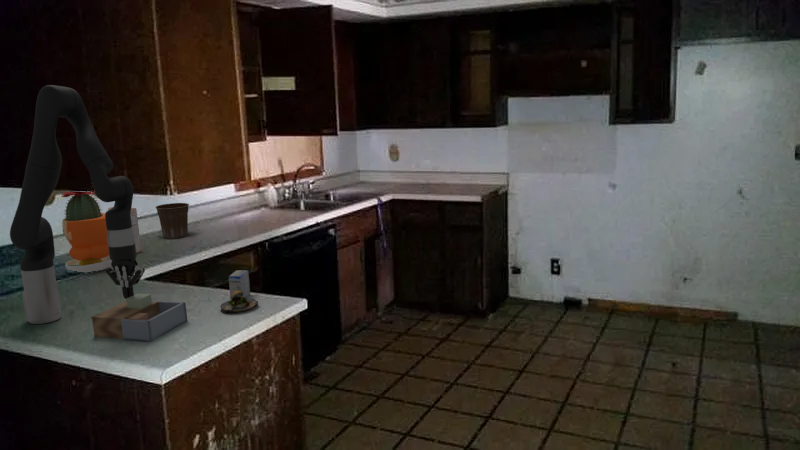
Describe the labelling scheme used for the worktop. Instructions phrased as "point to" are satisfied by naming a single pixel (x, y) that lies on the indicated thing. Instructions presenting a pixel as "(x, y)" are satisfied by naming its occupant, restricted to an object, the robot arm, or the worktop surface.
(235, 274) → the medicine box
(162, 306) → the tray
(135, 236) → the cracker box
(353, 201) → the worktop surface
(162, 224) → the plant pot
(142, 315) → the tile terracotta
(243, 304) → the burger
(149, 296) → the tile sage
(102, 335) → the wooden block
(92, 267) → the potted cactus
